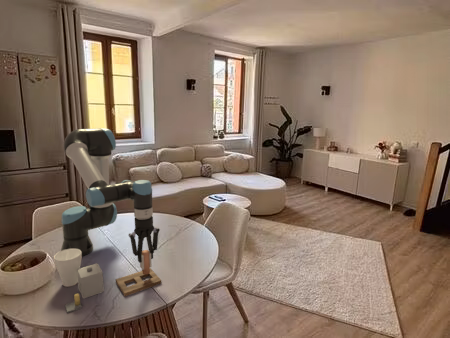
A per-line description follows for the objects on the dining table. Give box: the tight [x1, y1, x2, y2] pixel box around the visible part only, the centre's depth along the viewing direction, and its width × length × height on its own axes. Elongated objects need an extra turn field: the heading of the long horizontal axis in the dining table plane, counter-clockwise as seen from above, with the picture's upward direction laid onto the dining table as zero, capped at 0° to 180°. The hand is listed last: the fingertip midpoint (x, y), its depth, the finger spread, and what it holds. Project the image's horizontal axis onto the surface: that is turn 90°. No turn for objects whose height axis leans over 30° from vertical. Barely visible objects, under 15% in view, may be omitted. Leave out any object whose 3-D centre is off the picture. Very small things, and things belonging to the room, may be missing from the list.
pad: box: [64, 293, 83, 314], centre depth 111 cm, size 5×5×5 cm
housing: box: [77, 263, 105, 299], centre depth 120 cm, size 8×8×10 cm
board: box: [115, 267, 162, 297], centre depth 127 cm, size 12×16×2 cm
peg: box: [141, 249, 151, 275], centre depth 127 cm, size 3×3×10 cm
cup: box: [53, 249, 83, 288], centre depth 125 cm, size 10×10×14 cm
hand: (145, 266), depth 128 cm, fingers closed on peg, 3 cm apart
